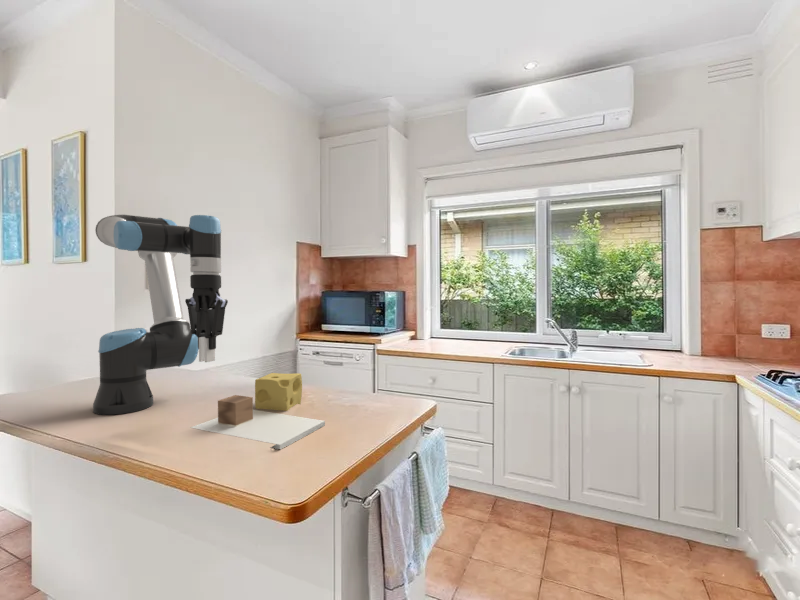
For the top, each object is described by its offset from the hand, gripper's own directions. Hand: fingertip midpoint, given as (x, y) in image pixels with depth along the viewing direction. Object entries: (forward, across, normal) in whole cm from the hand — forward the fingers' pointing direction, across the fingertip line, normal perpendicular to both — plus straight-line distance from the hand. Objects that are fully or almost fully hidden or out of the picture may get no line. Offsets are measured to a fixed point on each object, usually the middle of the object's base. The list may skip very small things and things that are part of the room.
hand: (207, 361), depth 113 cm
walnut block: (+15, +10, 0) cm, 18 cm away
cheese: (+17, +10, +17) cm, 26 cm away
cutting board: (+16, +17, +1) cm, 24 cm away
